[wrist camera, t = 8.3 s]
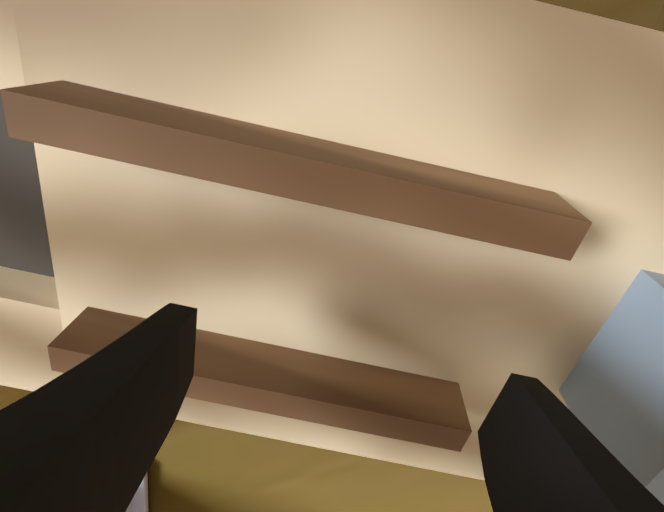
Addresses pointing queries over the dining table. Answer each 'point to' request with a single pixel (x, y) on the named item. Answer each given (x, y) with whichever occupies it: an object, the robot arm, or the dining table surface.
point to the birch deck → (327, 223)
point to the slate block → (627, 382)
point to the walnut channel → (306, 186)
